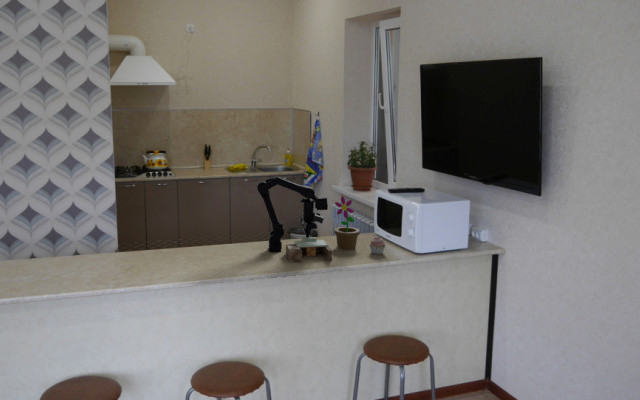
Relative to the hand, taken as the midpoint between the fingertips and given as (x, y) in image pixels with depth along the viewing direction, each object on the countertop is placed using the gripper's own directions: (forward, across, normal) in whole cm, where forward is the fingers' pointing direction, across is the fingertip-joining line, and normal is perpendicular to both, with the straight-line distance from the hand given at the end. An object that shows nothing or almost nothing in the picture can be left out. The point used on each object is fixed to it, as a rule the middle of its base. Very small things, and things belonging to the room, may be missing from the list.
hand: (307, 237), depth 321 cm
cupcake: (+7, -11, -37) cm, 39 cm away
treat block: (+7, -8, 0) cm, 11 cm away
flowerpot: (+7, +2, -23) cm, 24 cm away
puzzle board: (+7, -12, +2) cm, 14 cm away
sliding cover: (+1, -8, 0) cm, 9 cm away
